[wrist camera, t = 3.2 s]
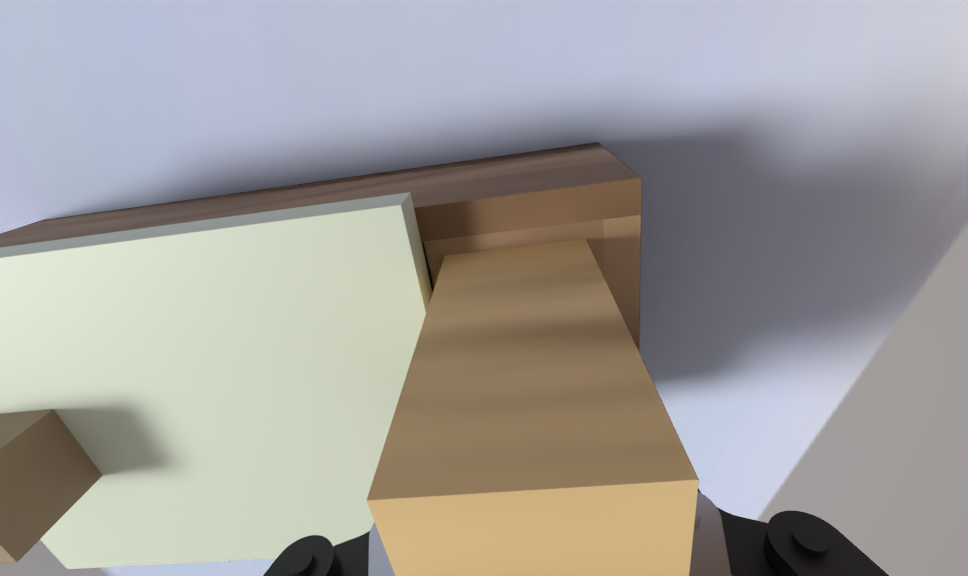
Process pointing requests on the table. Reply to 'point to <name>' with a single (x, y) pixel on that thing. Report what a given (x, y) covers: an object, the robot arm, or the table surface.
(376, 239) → the lid
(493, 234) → the wooden box
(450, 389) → the key
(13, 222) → the table surface
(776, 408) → the table surface
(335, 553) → the robot arm
